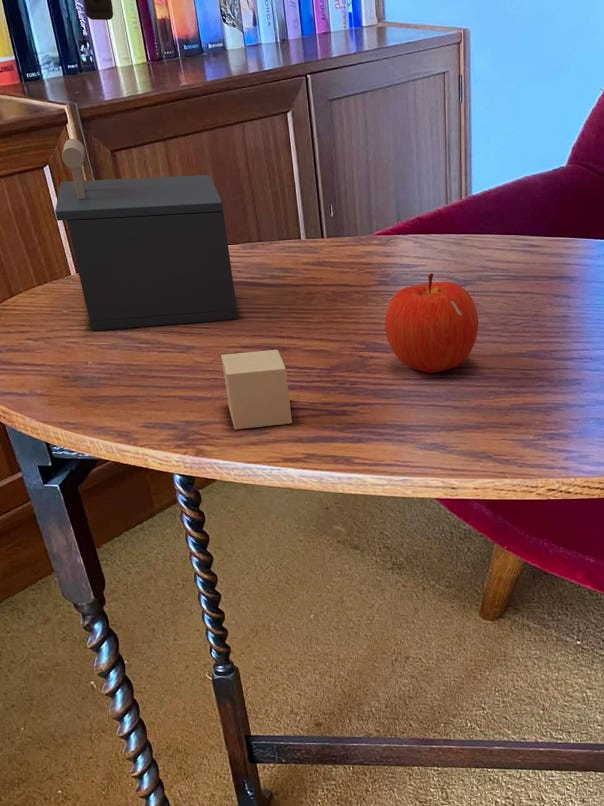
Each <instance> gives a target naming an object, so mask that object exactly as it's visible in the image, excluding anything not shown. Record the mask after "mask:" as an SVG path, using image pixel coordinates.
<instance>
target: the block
mask: <svg viewBox="0 0 604 806" xmlns="http://www.w3.org/2000/svg"><path fill="white" fill-rule="evenodd" d="M220 358H221V365H222V371H223V377H224V384H225V391H226V398H227V404H228V409H229V414H230V417H231V421H232V425H233V429H234V430H245V429H253V428H262V427H270V426H272V427H273V426H279V425H289V424H292V423H293V419H292V409H291V401H290V392H289V382H288V373H287V368H286V365H285V364H284V363H285V362H284V361H283V358H282V355H281V353H280V351H279V349H269V350H257V351H248V352H247V351H246V352H237V353H235V352H234V353H225V354H221V355H220Z"/></svg>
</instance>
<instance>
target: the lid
mask: <svg viewBox="0 0 604 806" xmlns="http://www.w3.org/2000/svg"><path fill="white" fill-rule="evenodd" d="M85 152H86V151H85V146H84V145H83V143H82V142H81V141H80V140H78V139H77V138H68V139H67V140H66V141H65V143H64V145H63V150H62V154H61V158H62V161H63V163H64V165H65V166H66V167H68V168H69V169H71V174H72V178H73V180H71V181H70V180H69V181H60V184H59V190H58V195H57V201H56V205H55V210H54V213H55V217H56V221H58V222H59V221H61V222H62V221H67V220H79V219H96V218H114V217H132V216H150V215H168V214H186V213H204V212H221V211H223V212H224V207H223V201H222V200H221V197H220V195H219V193H218V190H217V188H216V186H215V184H214V181H213V179H212V177H211V175H210V174H199V175H197V174H196V175H181V176H180V175H177V176H159V177H156V176H155V177H135V178H114V179H93V180H92V179H91V180H86V179H85V175H84V169H83V165H84V161H85Z"/></svg>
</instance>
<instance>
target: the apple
mask: <svg viewBox="0 0 604 806" xmlns="http://www.w3.org/2000/svg"><path fill="white" fill-rule="evenodd" d="M427 278H428V282H427V283H420V284H416V285H410V286H406V287H403V288H401V289H400V290H398V291H397V292H395V294H394V295H393V297H392V298H391V299H390V301H389V303H388V305H387V308H386V311H385V317H384V329H385V335H386V339H387V342H388V345H389V347H390V349H391V351H392V352H393V354H394V355H395V356H396V357H397V359H398V360H399V361H400V362H401V363H403V364H404V365H406V366H407V367H409V368H412V369H413V370H418V371H420V372H422V373H427V374H432V373H433V374H434V373H438V372H445V371H447V370H451V369H454V368H457V367H458V366H459V365H461V364H462V363H463V362H465V360H466V359H467V358H468V357H469V355H470V354H471V352H472V350H473V348H474V346H475V344H476V340H477V337H478V332H479V315H478V314H479V313H478V311H477V307H476V304H475V302H474V300H473V298H472V296H471V295H470V293H469V292H468V291H467V290H466V289H465V288H464V287H463V286H461V285H460V284H458V283H455V282H451V281H435V282H433V278H434V272H433V273H432V272H431V273H429V274H428V277H427Z"/></svg>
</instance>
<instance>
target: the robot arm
mask: <svg viewBox="0 0 604 806" xmlns="http://www.w3.org/2000/svg"><path fill="white" fill-rule="evenodd" d="M83 5H84V12H85V15H86V16H87V18H88V19H90V20H93V21H94V20H95V21H110V20H111V19H113V17H114V8H113V2H112V0H83Z"/></svg>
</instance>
